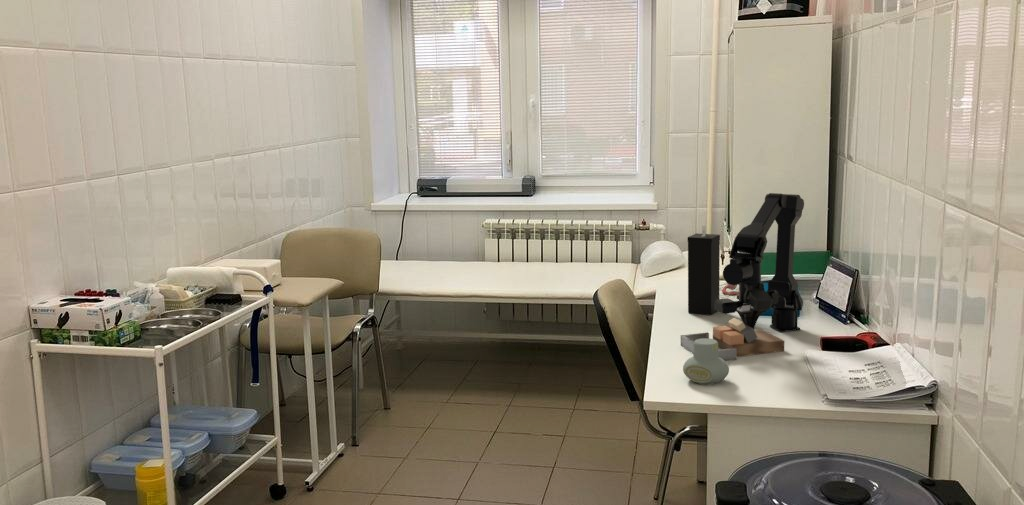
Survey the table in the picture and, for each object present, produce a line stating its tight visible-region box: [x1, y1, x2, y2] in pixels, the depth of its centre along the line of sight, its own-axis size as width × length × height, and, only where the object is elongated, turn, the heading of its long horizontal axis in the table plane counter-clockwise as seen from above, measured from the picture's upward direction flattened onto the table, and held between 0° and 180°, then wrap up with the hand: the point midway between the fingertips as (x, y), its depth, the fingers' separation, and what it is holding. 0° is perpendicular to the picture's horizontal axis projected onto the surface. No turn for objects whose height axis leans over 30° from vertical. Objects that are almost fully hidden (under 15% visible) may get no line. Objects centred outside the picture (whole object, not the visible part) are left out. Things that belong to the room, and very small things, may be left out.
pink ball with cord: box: [719, 280, 739, 296], centre depth 296 cm, size 21×9×25 cm
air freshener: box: [682, 338, 730, 386], centre depth 208 cm, size 11×8×10 cm
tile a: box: [712, 325, 733, 339], centre depth 235 cm, size 4×4×2 cm
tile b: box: [723, 331, 744, 345], centre depth 229 cm, size 4×4×2 cm
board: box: [712, 328, 785, 357], centre depth 234 cm, size 15×12×3 cm
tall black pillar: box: [687, 225, 721, 316], centre depth 272 cm, size 8×8×28 cm
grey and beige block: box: [725, 317, 757, 343], centre depth 233 cm, size 3×10×5 cm, turn 13°
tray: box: [680, 332, 738, 362], centre depth 231 cm, size 8×17×3 cm, turn 13°
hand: (749, 334), depth 233 cm, fingers closed
